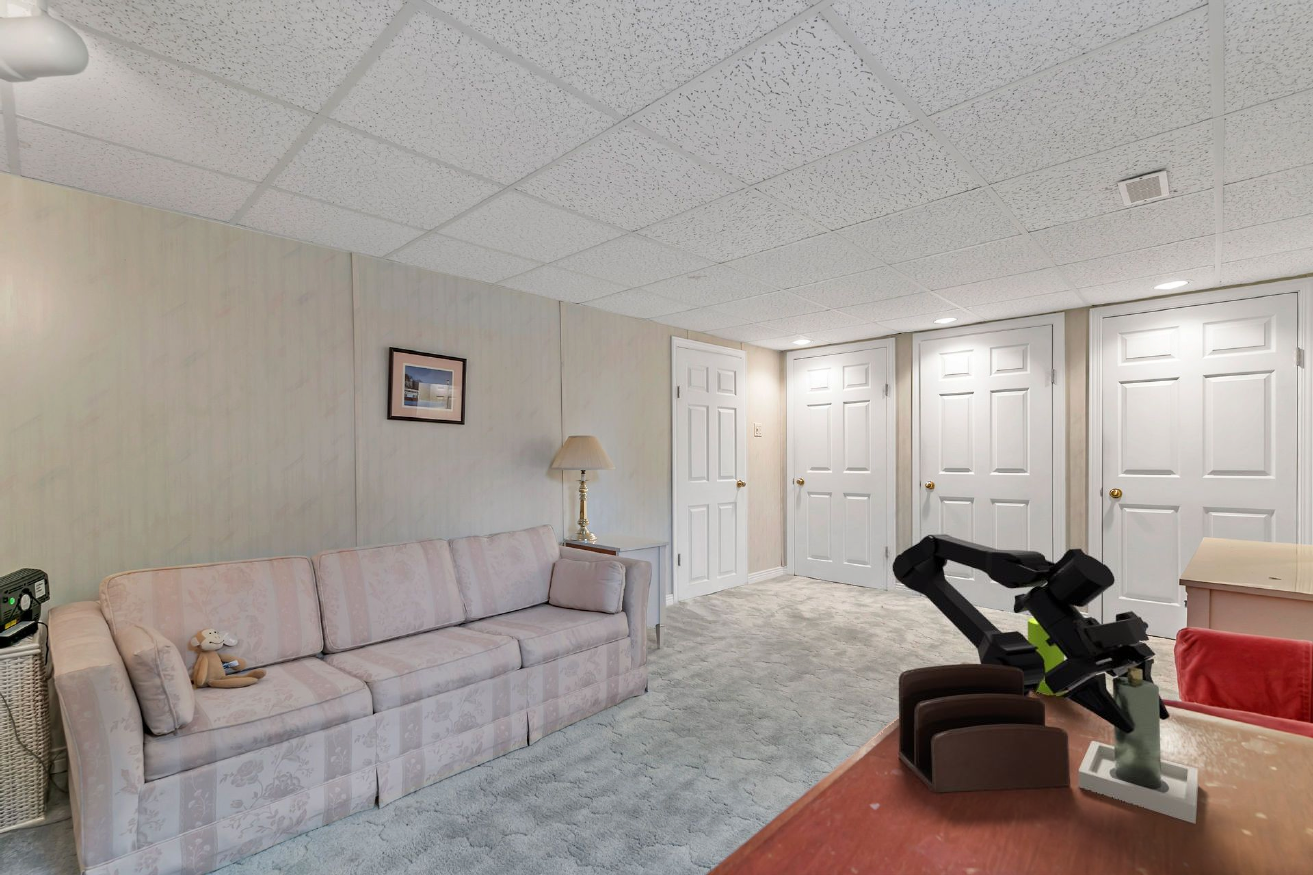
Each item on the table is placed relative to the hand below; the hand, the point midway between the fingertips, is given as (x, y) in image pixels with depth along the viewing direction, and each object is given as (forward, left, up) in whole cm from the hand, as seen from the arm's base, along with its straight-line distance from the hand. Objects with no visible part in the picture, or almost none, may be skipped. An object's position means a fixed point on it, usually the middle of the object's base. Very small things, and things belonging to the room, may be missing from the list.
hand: (1149, 725), depth 82 cm
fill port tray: (-1, 0, -9) cm, 9 cm away
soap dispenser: (-17, +31, -9) cm, 37 cm away
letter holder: (-18, -10, -9) cm, 23 cm away
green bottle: (-1, 0, -8) cm, 8 cm away
